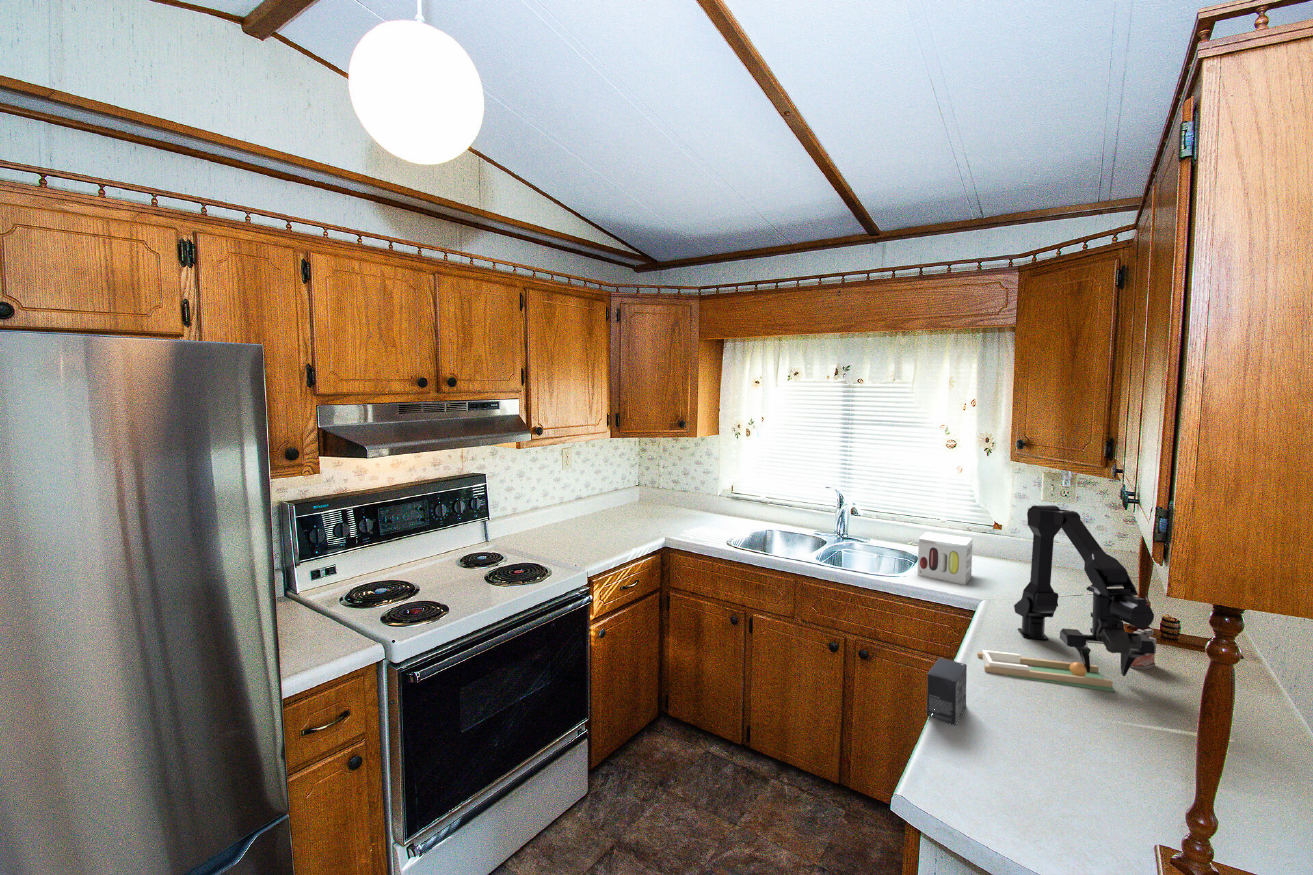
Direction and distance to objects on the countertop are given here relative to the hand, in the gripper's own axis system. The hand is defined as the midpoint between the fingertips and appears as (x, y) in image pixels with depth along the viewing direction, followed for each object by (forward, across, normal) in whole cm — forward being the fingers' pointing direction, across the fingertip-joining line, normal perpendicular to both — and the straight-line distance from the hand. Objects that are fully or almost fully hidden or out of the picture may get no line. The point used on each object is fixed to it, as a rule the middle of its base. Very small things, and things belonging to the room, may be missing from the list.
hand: (1105, 673), depth 147 cm
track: (+2, -14, 0) cm, 14 cm away
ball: (0, -6, 0) cm, 6 cm away
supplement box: (+1, -24, +75) cm, 79 cm away
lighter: (+2, +13, +13) cm, 18 cm away
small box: (+2, -41, -27) cm, 49 cm away
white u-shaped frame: (+1, -22, 0) cm, 22 cm away
